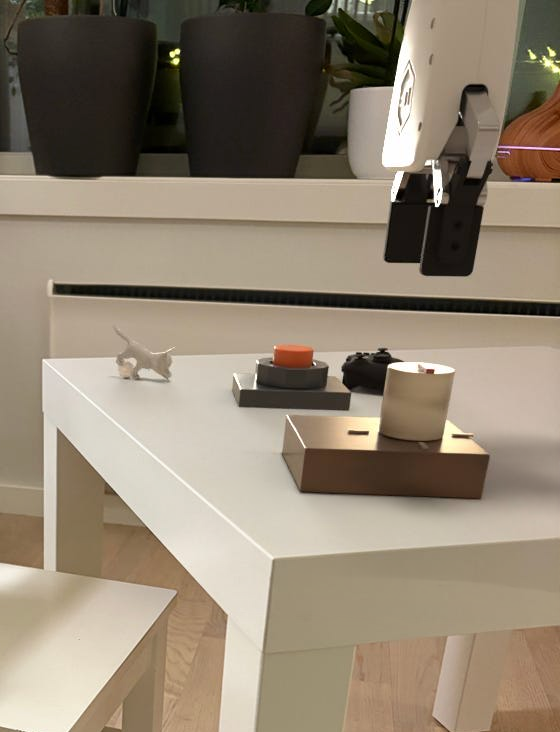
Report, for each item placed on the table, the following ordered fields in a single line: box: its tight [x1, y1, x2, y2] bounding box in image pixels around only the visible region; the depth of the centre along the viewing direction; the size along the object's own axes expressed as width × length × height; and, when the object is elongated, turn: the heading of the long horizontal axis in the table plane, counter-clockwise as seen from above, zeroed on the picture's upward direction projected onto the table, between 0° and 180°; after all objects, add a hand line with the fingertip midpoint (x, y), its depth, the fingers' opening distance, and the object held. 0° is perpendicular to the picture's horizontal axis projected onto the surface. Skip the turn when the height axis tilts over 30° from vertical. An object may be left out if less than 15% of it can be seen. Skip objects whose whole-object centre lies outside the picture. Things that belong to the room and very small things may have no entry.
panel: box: [281, 414, 491, 499], centre depth 69 cm, size 12×10×3 cm
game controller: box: [340, 347, 406, 392], centre depth 98 cm, size 10×5×7 cm
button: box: [272, 344, 315, 367], centre depth 90 cm, size 4×4×2 cm
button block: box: [231, 356, 352, 412], centre depth 91 cm, size 10×8×4 cm
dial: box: [378, 361, 456, 441], centre depth 67 cm, size 4×4×5 cm
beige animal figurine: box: [113, 324, 176, 382], centre depth 99 cm, size 3×8×6 cm
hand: (423, 268), depth 66 cm, fingers open, 9 cm apart
